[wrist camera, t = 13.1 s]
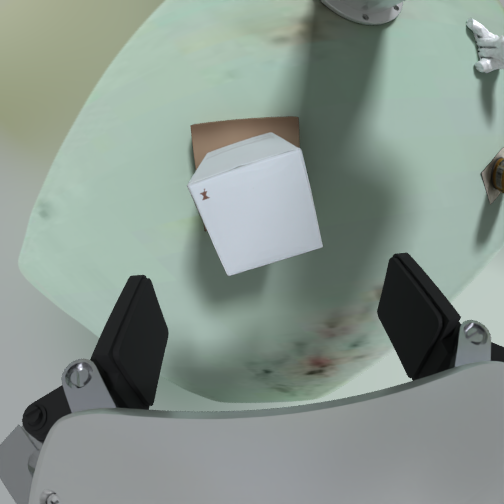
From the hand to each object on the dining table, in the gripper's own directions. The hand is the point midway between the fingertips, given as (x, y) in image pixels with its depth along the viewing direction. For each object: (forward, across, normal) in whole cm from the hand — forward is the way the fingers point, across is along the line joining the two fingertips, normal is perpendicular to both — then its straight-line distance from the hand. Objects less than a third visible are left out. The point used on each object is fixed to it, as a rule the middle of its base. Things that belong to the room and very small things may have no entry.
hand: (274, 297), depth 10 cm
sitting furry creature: (+25, -39, -21) cm, 50 cm away
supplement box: (+21, 0, 0) cm, 21 cm away
